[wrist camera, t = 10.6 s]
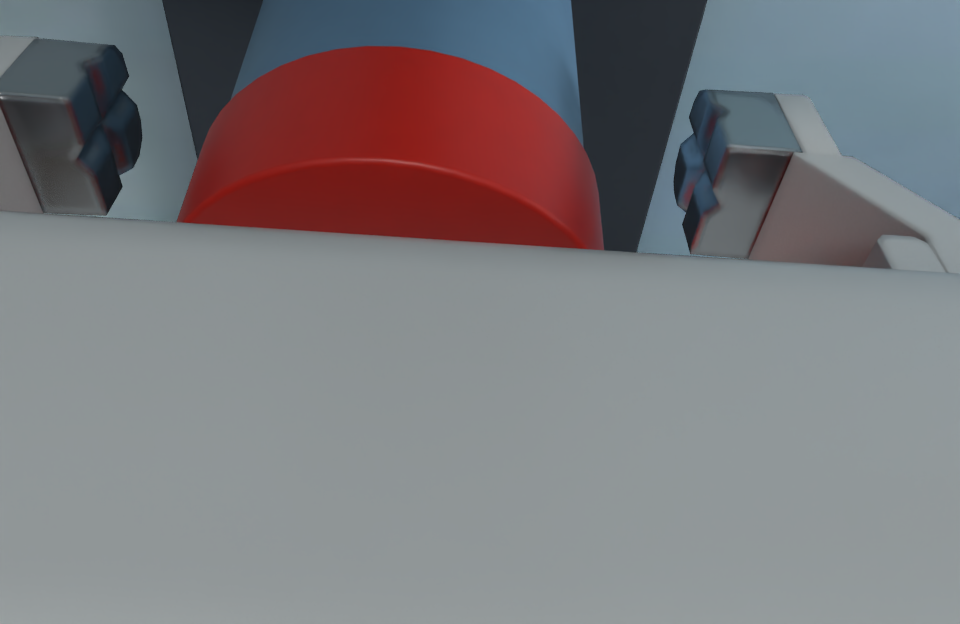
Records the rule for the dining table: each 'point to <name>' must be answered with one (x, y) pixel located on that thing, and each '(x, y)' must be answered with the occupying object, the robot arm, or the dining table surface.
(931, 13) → the dining table surface
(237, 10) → the mat
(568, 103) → the container
